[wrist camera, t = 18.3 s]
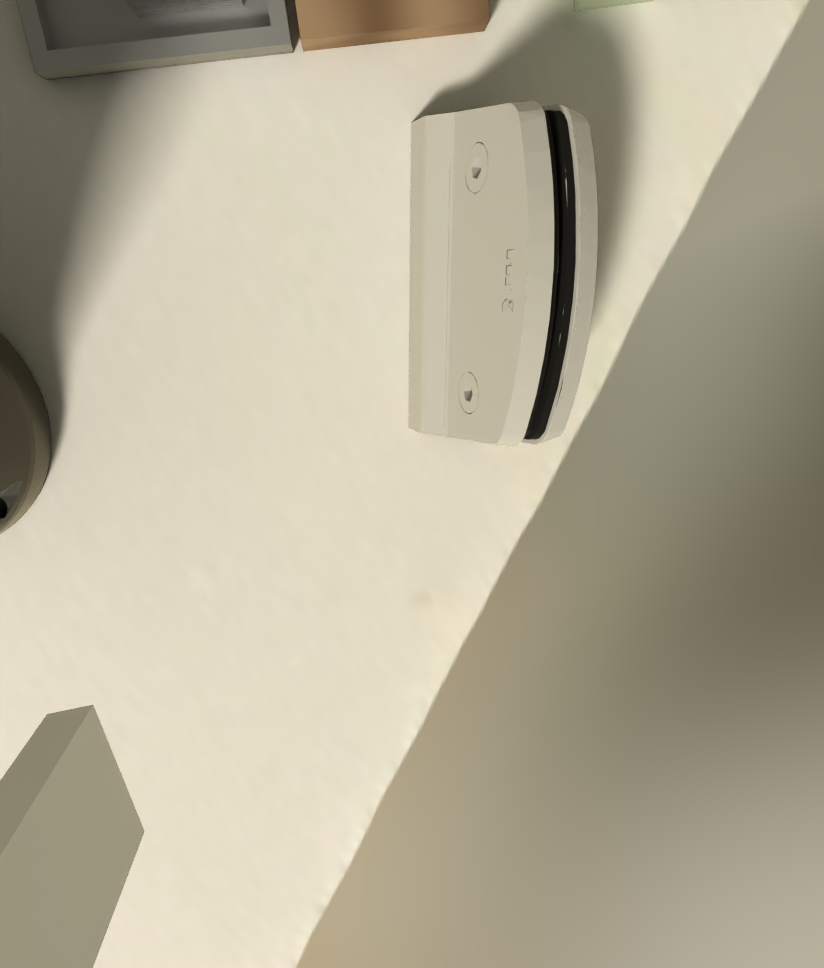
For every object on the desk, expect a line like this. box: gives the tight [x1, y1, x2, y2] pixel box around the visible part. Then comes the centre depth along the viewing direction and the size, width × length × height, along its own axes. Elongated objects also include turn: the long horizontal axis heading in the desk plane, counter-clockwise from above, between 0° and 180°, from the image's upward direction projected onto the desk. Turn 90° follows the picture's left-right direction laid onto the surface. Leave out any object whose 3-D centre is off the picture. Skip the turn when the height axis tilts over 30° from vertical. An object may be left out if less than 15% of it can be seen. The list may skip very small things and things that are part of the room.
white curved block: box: [409, 100, 598, 447], centre depth 32 cm, size 17×5×10 cm, turn 179°
